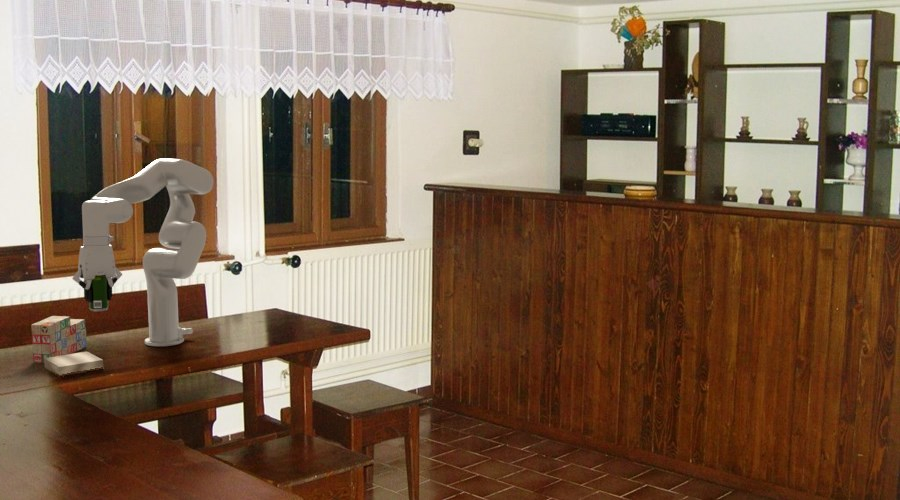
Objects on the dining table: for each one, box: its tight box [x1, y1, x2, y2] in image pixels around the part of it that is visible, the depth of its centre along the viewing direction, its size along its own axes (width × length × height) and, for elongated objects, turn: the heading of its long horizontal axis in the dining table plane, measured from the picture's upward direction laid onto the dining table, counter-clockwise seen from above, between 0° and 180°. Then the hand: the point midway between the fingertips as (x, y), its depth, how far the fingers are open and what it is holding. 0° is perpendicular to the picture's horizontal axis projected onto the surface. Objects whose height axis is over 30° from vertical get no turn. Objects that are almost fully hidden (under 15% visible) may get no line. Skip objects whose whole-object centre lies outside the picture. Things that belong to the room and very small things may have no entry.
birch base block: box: [44, 351, 104, 375], centre depth 314 cm, size 13×13×3 cm
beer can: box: [88, 272, 109, 312], centre depth 317 cm, size 5×5×12 cm
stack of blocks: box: [31, 315, 88, 364], centre depth 331 cm, size 21×6×12 cm, turn 170°
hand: (98, 300), depth 317 cm, fingers closed on beer can, 5 cm apart
